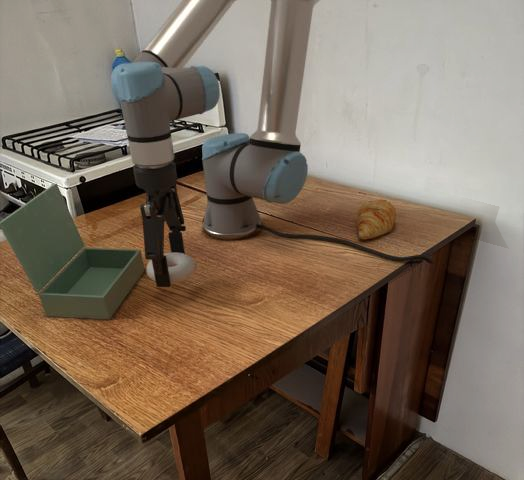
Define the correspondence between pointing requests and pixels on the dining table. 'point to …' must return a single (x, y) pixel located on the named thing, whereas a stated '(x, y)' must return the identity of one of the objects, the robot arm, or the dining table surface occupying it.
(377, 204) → the croissant
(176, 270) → the donut
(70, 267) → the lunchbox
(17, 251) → the green box lid
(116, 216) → the dining table surface
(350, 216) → the dining table surface
